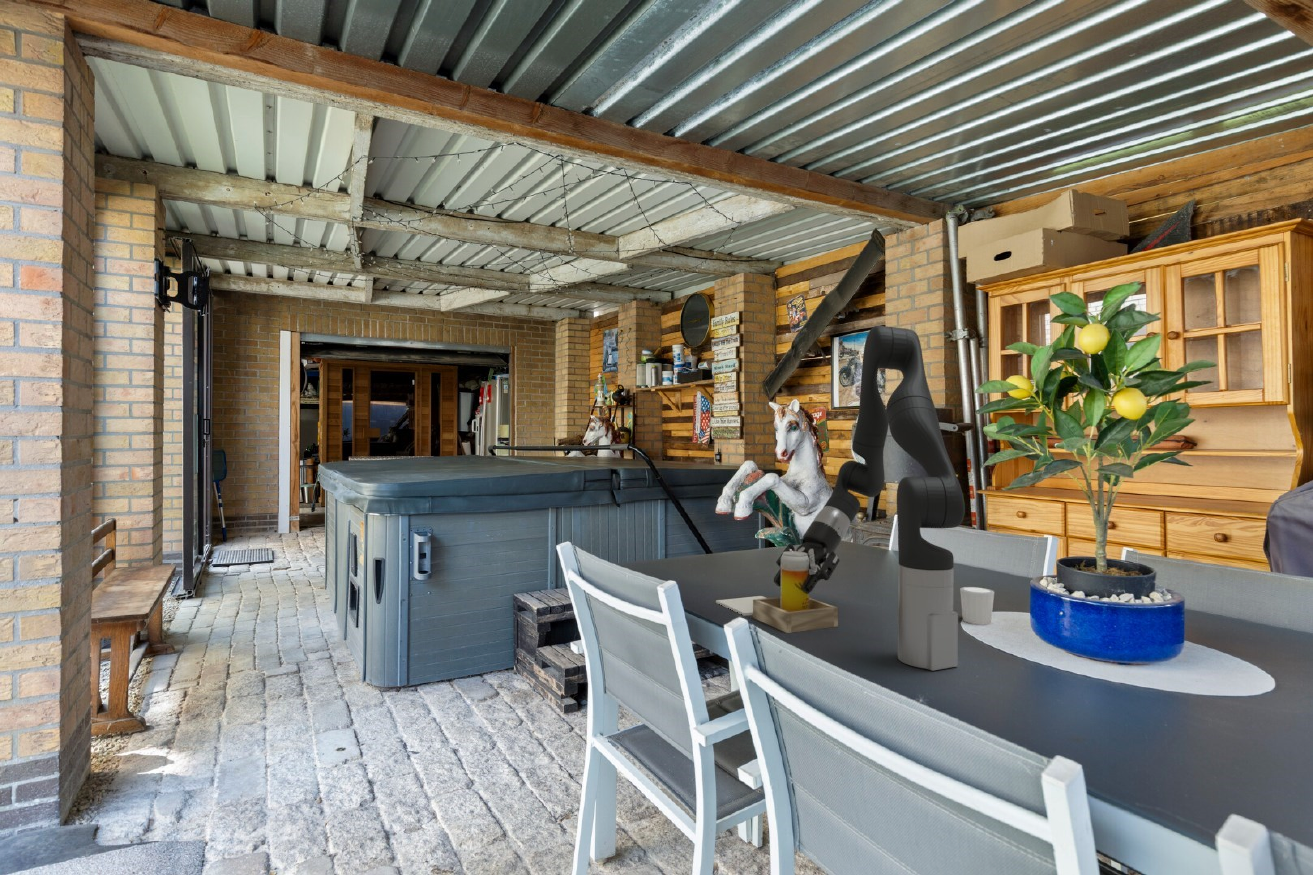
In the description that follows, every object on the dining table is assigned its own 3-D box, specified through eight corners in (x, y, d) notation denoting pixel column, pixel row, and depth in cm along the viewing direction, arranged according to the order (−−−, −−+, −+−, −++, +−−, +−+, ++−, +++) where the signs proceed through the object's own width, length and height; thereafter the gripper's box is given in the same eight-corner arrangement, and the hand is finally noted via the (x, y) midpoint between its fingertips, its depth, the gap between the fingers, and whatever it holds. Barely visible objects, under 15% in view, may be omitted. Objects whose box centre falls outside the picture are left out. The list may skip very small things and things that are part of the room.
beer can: (809, 626, 144) (809, 556, 144) (780, 624, 145) (780, 554, 145) (808, 619, 150) (808, 551, 150) (780, 617, 151) (781, 550, 151)
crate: (837, 626, 144) (837, 607, 144) (787, 633, 139) (787, 613, 139) (800, 611, 156) (800, 594, 156) (752, 617, 151) (753, 599, 151)
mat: (792, 610, 157) (792, 607, 157) (744, 615, 152) (744, 613, 152) (761, 598, 169) (761, 595, 169) (715, 602, 164) (715, 600, 164)
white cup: (987, 617, 153) (987, 586, 153) (999, 626, 146) (999, 593, 146) (955, 616, 153) (955, 585, 153) (966, 624, 146) (966, 592, 146)
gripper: (795, 516, 158) (758, 571, 151) (844, 523, 146) (806, 582, 139) (811, 537, 161) (775, 592, 154) (859, 546, 149) (823, 605, 142)
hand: (790, 587), depth 147 cm, fingers open, 8 cm apart
